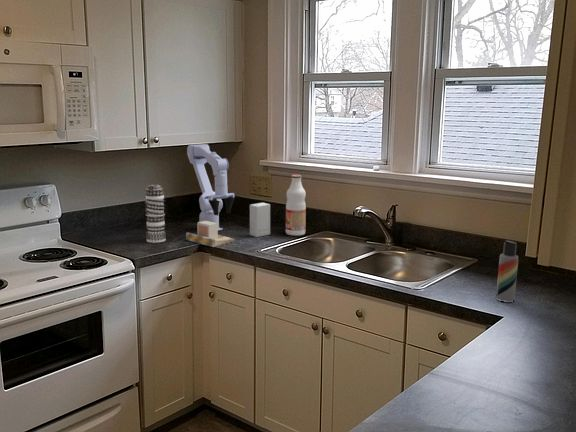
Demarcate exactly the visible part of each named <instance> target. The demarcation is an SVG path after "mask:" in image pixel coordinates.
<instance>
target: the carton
mask: <svg viewBox="0 0 576 432" xmlns="http://www.w3.org/2000/svg"><path fill="white" fill-rule="evenodd" d="M196 226H197V228H196V229H197V230H196V231H197V234H196V235H200V236H204V237H208V238H212V239H218V235H219V234H218V233H219V232H218V231H219V230H218V223H214V222H210V221H201V222H199V221H198V222H197V224H196Z"/></svg>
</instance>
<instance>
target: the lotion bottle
mask: <svg viewBox="0 0 576 432" xmlns="http://www.w3.org/2000/svg"><path fill="white" fill-rule="evenodd" d="M517 245H518V244H517V242H515V241H513V240H505V241H504V242H503V249H502V250H503V251H502V253H500V255H499V259H498V261H499V262H498V273H497V282H496V294H495V295H496V296H495V298H496V297H497V298H498V299H501V300H506V301H512V300H514V301H515V298H516V289H517V278H518V277H517V276H518V266H519V255H518V254H517ZM516 254H517V255H516Z"/></svg>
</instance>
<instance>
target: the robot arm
mask: <svg viewBox="0 0 576 432" xmlns="http://www.w3.org/2000/svg"><path fill="white" fill-rule="evenodd" d="M210 149H211V148H210V145H209V144H207V143H205V144H204V143H203V144H200V143H199V144H189V145H188V146H187V148H186V155H187V158H188V160H189V163H190V164H191V165H193V169H194V172H195V175H196V178H197V181H198V184H199V187H200V190H201V193H202V194H201V195H200V196H199V199H198V202H199V208H200V210H201V212H200V213H199V215H198V216H199V217H198V218H199V220H198V222H201V221H210V222H214V223H218V231H222V230H223V229H224V228H222V227H220V218H219V217H220V216H219V215H220V212H221V210H222V208H223V206H224V205H225V212H226V214H231V211H232V207H233V204H234V202H235V200H236V199H235V198H236V197H235V192H228V191H229V190H228V189H229V188H228V171H229V167H230V166H229V165H230V164H229V160H228V159H227V158H226V157H224V158H222V157H221V156H220V155H218V154H217V152H216V151H211V150H210ZM206 163H208V164H209V165H210V166H211V169H212V175H213V177H214V190H213V188H212V185H211V182H210V179H209V176H208V173H207V170H206V166H205V164H206ZM222 199H223V200H222ZM223 201H224V203H223ZM223 204H224V205H223Z"/></svg>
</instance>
